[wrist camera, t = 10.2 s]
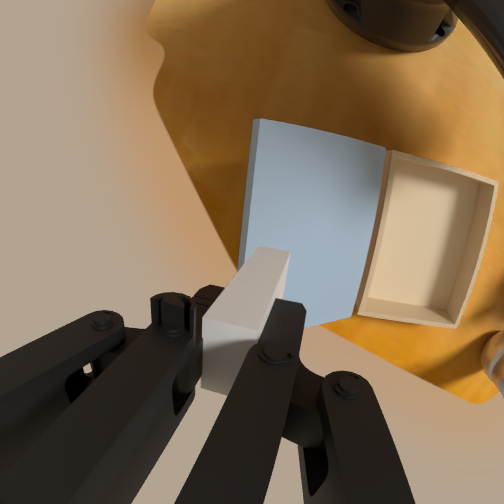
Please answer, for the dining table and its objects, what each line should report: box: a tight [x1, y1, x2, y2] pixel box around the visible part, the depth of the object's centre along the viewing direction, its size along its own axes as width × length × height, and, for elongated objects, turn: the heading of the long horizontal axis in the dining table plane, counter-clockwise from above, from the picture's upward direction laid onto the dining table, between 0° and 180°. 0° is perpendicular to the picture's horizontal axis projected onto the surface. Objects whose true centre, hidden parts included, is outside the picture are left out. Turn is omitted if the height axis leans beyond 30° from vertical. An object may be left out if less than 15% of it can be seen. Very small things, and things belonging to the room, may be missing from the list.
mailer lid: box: [237, 118, 386, 328], centre depth 23 cm, size 16×12×1 cm
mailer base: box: [355, 150, 499, 329], centre depth 26 cm, size 16×12×4 cm
